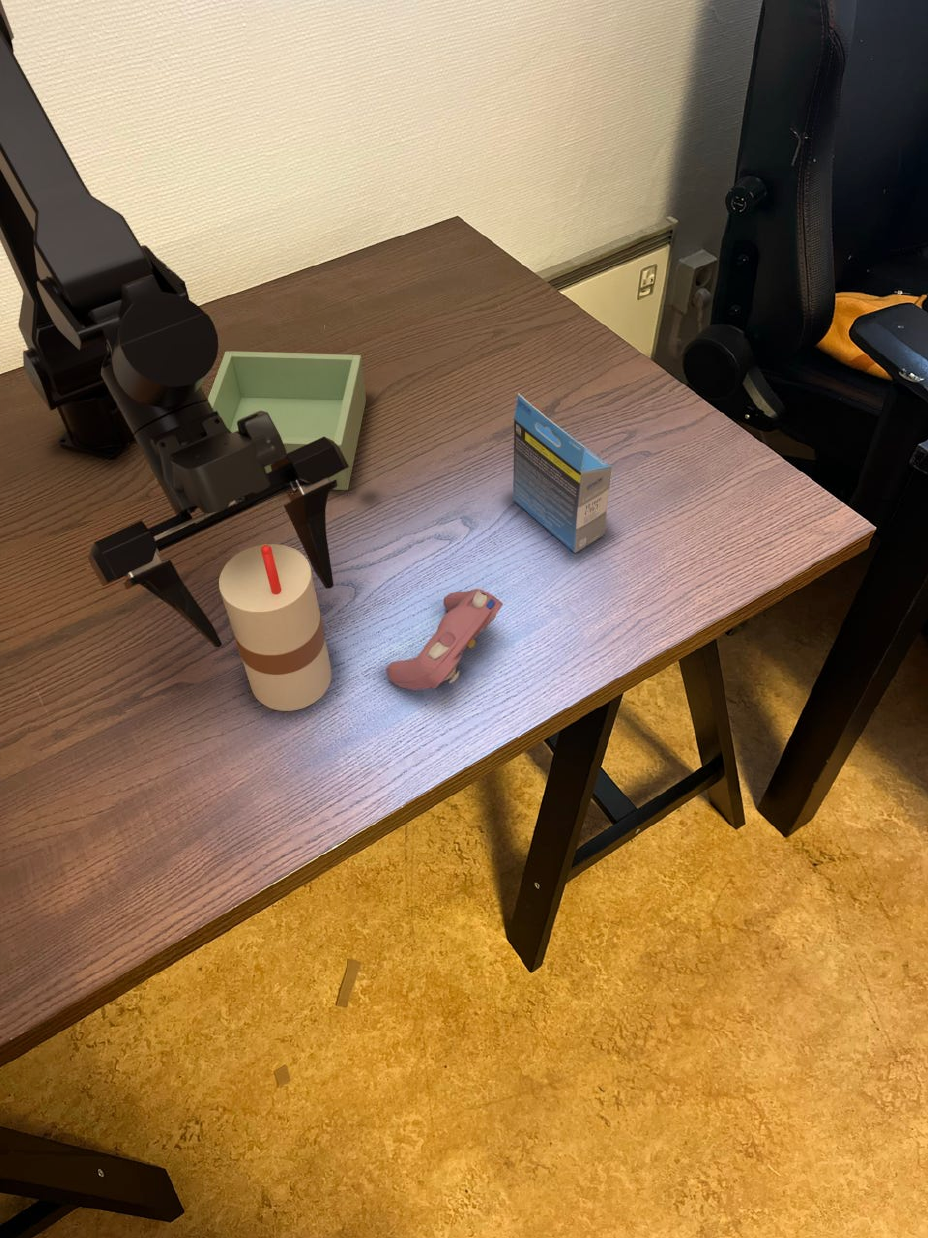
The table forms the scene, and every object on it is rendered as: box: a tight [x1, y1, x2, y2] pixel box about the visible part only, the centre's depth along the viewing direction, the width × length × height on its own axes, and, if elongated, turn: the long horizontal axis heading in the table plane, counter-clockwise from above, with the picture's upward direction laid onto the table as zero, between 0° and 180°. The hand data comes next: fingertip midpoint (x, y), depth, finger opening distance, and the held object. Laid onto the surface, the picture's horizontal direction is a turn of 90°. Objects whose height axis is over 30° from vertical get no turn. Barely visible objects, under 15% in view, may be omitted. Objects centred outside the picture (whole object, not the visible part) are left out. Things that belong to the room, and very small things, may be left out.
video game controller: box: [386, 588, 504, 691], centre depth 74 cm, size 10×5×7 cm, turn 148°
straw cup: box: [218, 543, 333, 712], centre depth 68 cm, size 6×6×16 cm
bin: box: [207, 351, 367, 491], centre depth 91 cm, size 14×14×6 cm
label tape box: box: [512, 392, 612, 554], centre depth 81 cm, size 9×4×12 cm, turn 37°
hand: (276, 616), depth 69 cm, fingers open, 9 cm apart
